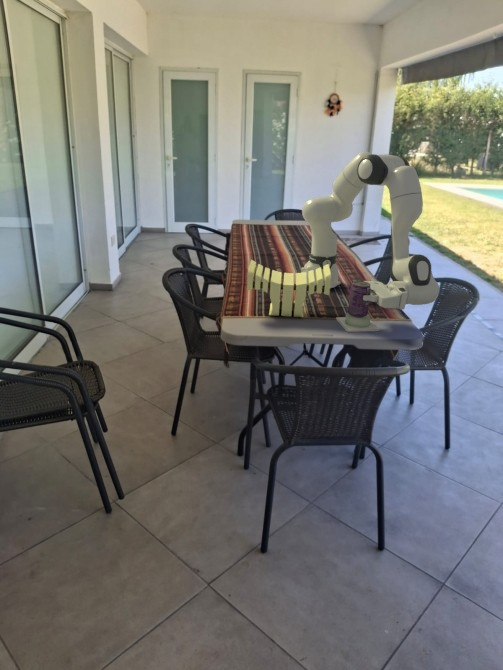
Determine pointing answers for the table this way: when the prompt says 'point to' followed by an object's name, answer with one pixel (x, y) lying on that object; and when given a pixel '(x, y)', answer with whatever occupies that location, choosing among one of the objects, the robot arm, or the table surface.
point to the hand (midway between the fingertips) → (358, 293)
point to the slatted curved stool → (288, 287)
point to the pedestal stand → (357, 323)
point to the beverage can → (359, 299)
